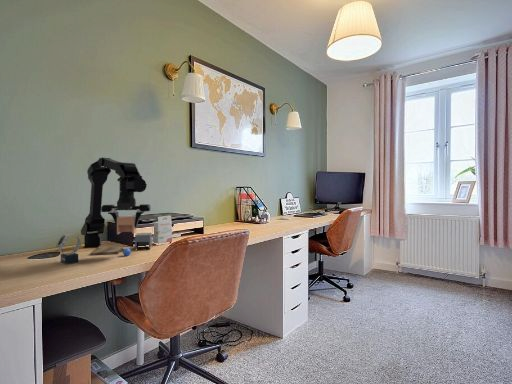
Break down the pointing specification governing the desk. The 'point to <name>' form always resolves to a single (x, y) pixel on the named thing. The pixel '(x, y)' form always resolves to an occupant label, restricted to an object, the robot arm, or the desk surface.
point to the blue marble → (126, 251)
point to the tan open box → (126, 224)
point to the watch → (68, 257)
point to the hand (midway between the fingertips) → (126, 228)
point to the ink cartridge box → (162, 230)
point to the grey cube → (143, 239)
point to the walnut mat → (106, 250)
